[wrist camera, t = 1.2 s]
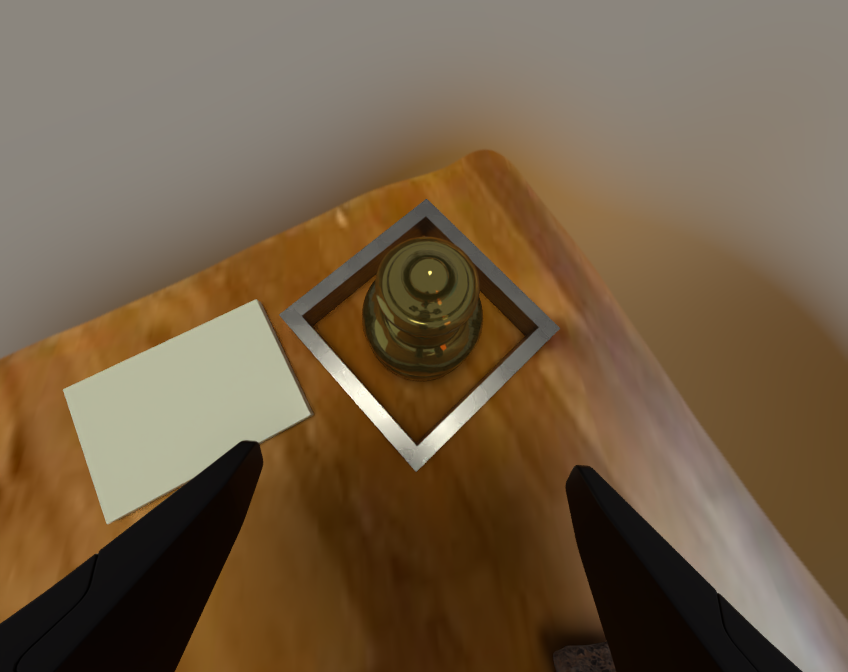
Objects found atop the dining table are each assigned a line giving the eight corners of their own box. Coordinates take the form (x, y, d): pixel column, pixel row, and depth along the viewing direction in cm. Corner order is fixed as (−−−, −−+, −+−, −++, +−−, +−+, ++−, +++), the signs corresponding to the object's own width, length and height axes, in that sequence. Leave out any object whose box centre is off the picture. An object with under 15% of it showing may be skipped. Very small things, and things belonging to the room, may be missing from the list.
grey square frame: (544, 336, 24) (559, 328, 22) (415, 465, 22) (416, 471, 19) (424, 218, 26) (426, 198, 24) (292, 325, 24) (279, 314, 21)
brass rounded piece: (373, 388, 23) (349, 368, 13) (365, 287, 25) (338, 205, 15) (477, 376, 24) (527, 349, 14) (463, 279, 25) (498, 194, 16)
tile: (261, 302, 24) (256, 299, 23) (314, 414, 22) (310, 414, 22) (75, 390, 22) (63, 389, 21) (118, 520, 20) (106, 524, 20)
